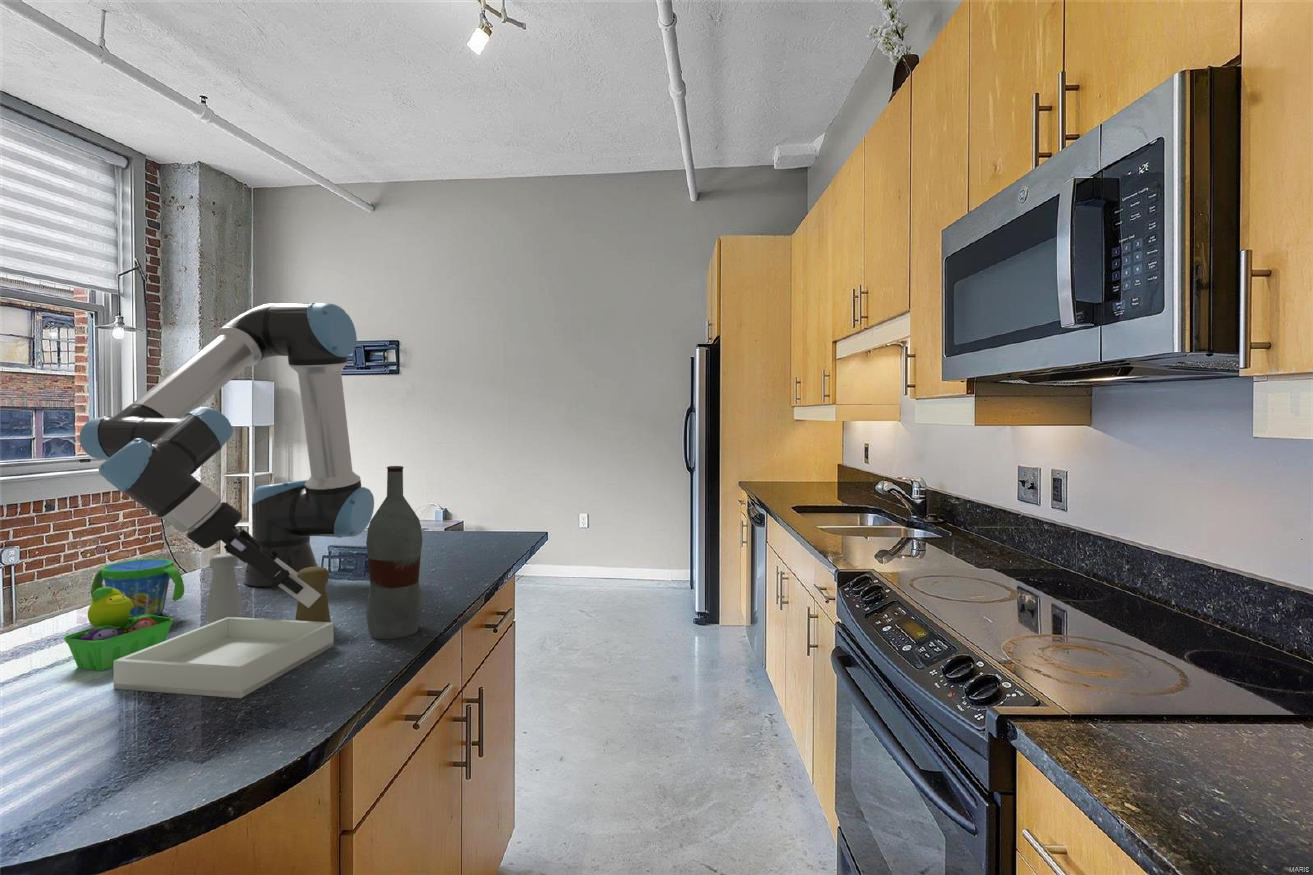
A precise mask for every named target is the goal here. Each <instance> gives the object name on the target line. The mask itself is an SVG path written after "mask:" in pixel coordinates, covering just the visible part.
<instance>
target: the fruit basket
mask: <svg viewBox="0 0 1313 875" xmlns="http://www.w3.org/2000/svg"><path fill="white" fill-rule="evenodd" d="M132 608H134V605H133V602H132V601H131V600H130V599H129V598H128V597H127V596H125V595H123V594H122V593H121V592H120V591H119V590H117V589H115V588H111V587H105V586H103V587H102V588H98V589H96V590H95V591H94V592H93V594H92V596H91V603H90V605H89V607H88V609H87V619H88V622H89V623H90V624H91V625H92V626H93V627H90V628H87V629H83V630H81V631H77V632H76V631H75V632H74V633H70V634H68V635H65V636H63V639H64V641H65V644H67V645H68V647H69V650H70V652H71V655H72V657H73V660H74V662H75V664H76V666H77V668H82V669H85V670H89V671H90V670H92V671H97V672H102V670H103V671H105V670H104V669H106V668H109V669H111V668H113V661H114V660H117V659H119V658H122V657H125V656H127V655H130V654H132V653H135V652H138V651H140V650H143V649H145V648H148V647H151V646H153V645H156V644H158V643H161V642H164V641H166V640H167V637H168V635H169V631H170V628H171V626H172V624H173V622H174V618H173V617H167V616H160V615H158V616H154V615H147V614H145V615H138V616H134V617H130V618H128V617H129V614H130V610H131V609H132ZM110 667H111V668H110ZM106 670H107V669H106Z"/></svg>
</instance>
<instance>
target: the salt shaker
mask: <svg viewBox="0 0 1313 875" xmlns="http://www.w3.org/2000/svg"><path fill="white" fill-rule="evenodd" d="M238 564H239V558H238V557H236V556H234V555H232V554H230V553H229V552H227V553H218V554H215V555H213V556H211V557H210V559H209V568H210V569H213V571H212V572H213V573H212V577H211V582H210V588H209V593H208V597H207V602H206V606H205V607H206V608H205V613H204V617H205V619H206V621H207V624H210V623H213V622H215V621H218V620H221V619H223V618H226V617H242V614H243V612H244V606H243V603H242V602H243V601H242V597H241V593H240V590H239V585H238V580H237V575H236V572H235V571H236V570H235V567H237V566H238Z"/></svg>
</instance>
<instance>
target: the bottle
mask: <svg viewBox="0 0 1313 875" xmlns="http://www.w3.org/2000/svg"><path fill="white" fill-rule="evenodd" d="M386 469H387V471H386V472H387V475H386V477H387V478H386V497H385V498H384V500H383V502H381V505H380V506H379V507H378V509H377V510H376V512H375V514H374V515H372V518H371V520H370V522H369V524H368V526H367V527H368V528H367V534H366V541H365V542H366V551H367V552H366V553H367V560H368V564H367V565H368V573H369V576H368V577H369V589H368V595H367V604H366V610H365V615H366V624H367V630H368V632H369V635H370V637H372V638H374V639H377V640H395V639H401V638H406V637H408V636H409V637H410V636H412V635H414V634H415V633H417V632H418V630H419V627H420V625H421V624H420V623H421V620H422V611H423V601H422V593H421V592H422V591H421V587H420V581H419V580H420V569H421V559H422V558H421V556H422V547H423V533H422V531H423V530H422V525H421V521H420V518H419V517H418V515H417V513H416V512H415V510H414V509H413V508H412V507H411V505H410V503H409V502H408V500H407V499H406V497H405V495H404V466H402V465H389V466H387V467H386Z"/></svg>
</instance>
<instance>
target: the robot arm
mask: <svg viewBox="0 0 1313 875" xmlns="http://www.w3.org/2000/svg"><path fill="white" fill-rule="evenodd" d="M357 338H358V337H357V330H356V328H355V325H354V322H353V320H352V318H351V317H350V315H349V314H348V313H347V312H346V311H345V309H343V307H341V306H339V305H338V304H337V305H336V304H334V303H326V302H317V301H315V302H283V303H282V302H272V303H264V304H261V305H258V306H255V307H252V308H250V309H248V310H246V311H245V312H243V313H241V314H238V315H237V316H235V317H234V318H232V319H231V320H229V321H228V322H226V323H224V325H222V326H221V327H219V328H218V329H217V330H216V331H215V332H214V334H213V340H212V341H211V342H208V344H207V345H205V346H204V347H203V348H201V349H200V350H199V351H198V352H197V353H195V354H194V355H192V356H191V357H190V358H189V359H187V360H185V362H184V363H182V364H180V366H179V367H177V368H176V369H175V370H173V371H172V372H171V373H169V374H168V375H166V376H165V377H164V378H162V380H161V381H159V382H158V383H157V384H155V385H154V386H153V387H152V388H149V390H147V391H146V392H145V393H143V394H142V395H141V396H139V397H138V398H137V399H135V400H134V401H133V402H132V403H131V404H129V405H128V406H127V407H125V408H124V409H123V410H121V411H120V412H118V413H117V414H116V415H114V416H111V415H106V416H103V417H95V418H92V419H89V420H88V421H87V422H86V423H84V425H83V426H82V428H81V429H80V432H79V438H78V439H79V444H80V447H81V448H82V450H83V451H84V453H85V454H86V455H88V456H89V457H92V458H93V459H97V460H103V462H102V463H101V464H100V465H99V466H98V473H99V475H100V476H101V477H103V479H105V480H106V482H108V483H110V485H113V487H115V488H116V489H117V490H118V491H119V492H121V493H123V494H125V495H126V496H128V497H129V498H130V499H132V500H134V501H135V502H136V503H138V505H141V506H143V507H144V508H145V509H147V511H149V512H151V513H152V514H153V515H155V516H157V517H158V518H159V519H162V520H163V521H164V522H163V523H162V525H163V527H165V528H170V527H171V525H172V527H173V528H174V529H175V530H177V531H178V532H180V533H186V538H187V539H189V540H190V541H192V542H193V543H194V544H196V545H197V546H199V547H200V548H202V549H209V548H211V547H213V546H214V545H216V544H217V543H218V542H219V541H221V542H222V543H223V544H225V545H223V549H224V550H225V551H226V552H227V553H230V554H232V555H234V556H236V557H238V560H240V561H241V562H243V563H244V564H247V565H246V569H245V570H244V572H243V583H244V584H245V585H247V586H252V587H270V588H272V589H274V590H275V589H277V587H278V588H280V589H281V590H283V591H285V592H286V593H288V595H290V596H291V597H292V598H294V599H295V600H297V602H298V601H300V602H301V603H302V604H304V605H305V606H307V607H308V608H309V607H310V606H311V605H312V604H313V603H314V602H315V601H316V600H317V599H318V598H319V597H320V596H321V594H319V593H318V592H317V591H315V590H314V589H313V588H311V587H310V586H309V585H307V584H306V583H305V582H303V581H302V580H301V579H299V578H298V577H297V574H298V572H299V571H300V570H302V569H304V568H308V567H319V565H318V563H317V560H316V557H315V554H314V552H313V549H312V545H311V537H328V538H329V537H331V538H338V539H339V538H346V537H347V538H348V537H349V538H350V537H352V538H353V537H357V536H359V535H360V534H362V533H363V532H364V531H365V530H366V528H367V527H369V524H370V521H371V519H372V518H373V514H374V509H375V497H374V494H373V492H372V490H370V489H369V488H366V487H365V486H364V487H363V486H362V480H361V476H360V475H359V474H357V473H355V472H354V471H353V463H352V455H351V445H350V439H349V437H350V436H349V429H348V428H349V427H348V420H347V419H348V418H347V412H346V411H347V410H346V403H345V401H346V400H345V394H344V386H343V376H342V370H343V369H344V368H345V366H347V365H348V364H349V363H348V362H349V361H348V356H349V357H350V356H351V355H352V354H353V353H354V352H355V350H356V345H357V343H358V342H357ZM283 356H284V357H287V360H288V362H287V363H288V366H289V367H290V368H291V369H293V370H294V371H295V372H296V373H297V376H298V384H299V385H298V386H299V393H300V400H301V407H302V415H303V424H304V431H305V438H306V446H307V454H308V461H309V462H308V463H309V470H310V477H309V479H307V480H306V479H305V480H296V481H286V482H279V483H272V484H270V483H269V484H265V485H264V484H263V485H260V486H257V487H256V488H255V489H254V491H253V494H252V503H251V507H252V511H251V512H252V514H251V515H252V535H251V534H250V533H249V532H247V531H246V530H245V529H242V530H241V531H240V530H239V529H237V527H236V526H237V525H238V524H239V522H240V521H241V519H242V517H243V516H242V513H241V512H240V511H239V510H238V509H236V508H235V507H233V505H231V504H230V503H228V502H226V501H223V502H221V501H222V497H221V496H220V495H218V494H217V493H215V492H214V491H213V490H212V489H211V488H209V487H208V486H206V485H205V484H204V483H202V482H201V481H200V480H197V478H195V477H194V475H193V474H194V473H195V472H196V471H197V470H199V468H200V467H202V466H203V465H204V464H205V463H206V462H208V461H209V460H210V459H211V458H213V456H215V454H217V453H218V452H220V451H221V450H222V449H223V447H224V445H225V444H226V443H227V442H228V441H229V440H230V439H232V436H233V433H234V430H233V425H232V424H231V422H230V420H229V419H228V418H227V417H226V416H225V415H224V414H223V413H222V412H220V411H219V410H217V409H214V408H211V407H209V406H208V407H207V406H203V405H204V404H205V403H206V402H208V401H209V399H211V398H212V397H213V396H214V395H215V394H217V393H218V391H220V390H221V389H222V388H224V386H226V384H228V383H229V382H230V381H231V380H232V379H234V378H235V377H236V376H237V375H238V374H239V373H240V372H242V370H244V369H245V368H246V367H253V366H254V367H255V366H256V365H257V364H259V363H260V362H261V361H262V360H264V359H267V358H272V357H283Z"/></svg>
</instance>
